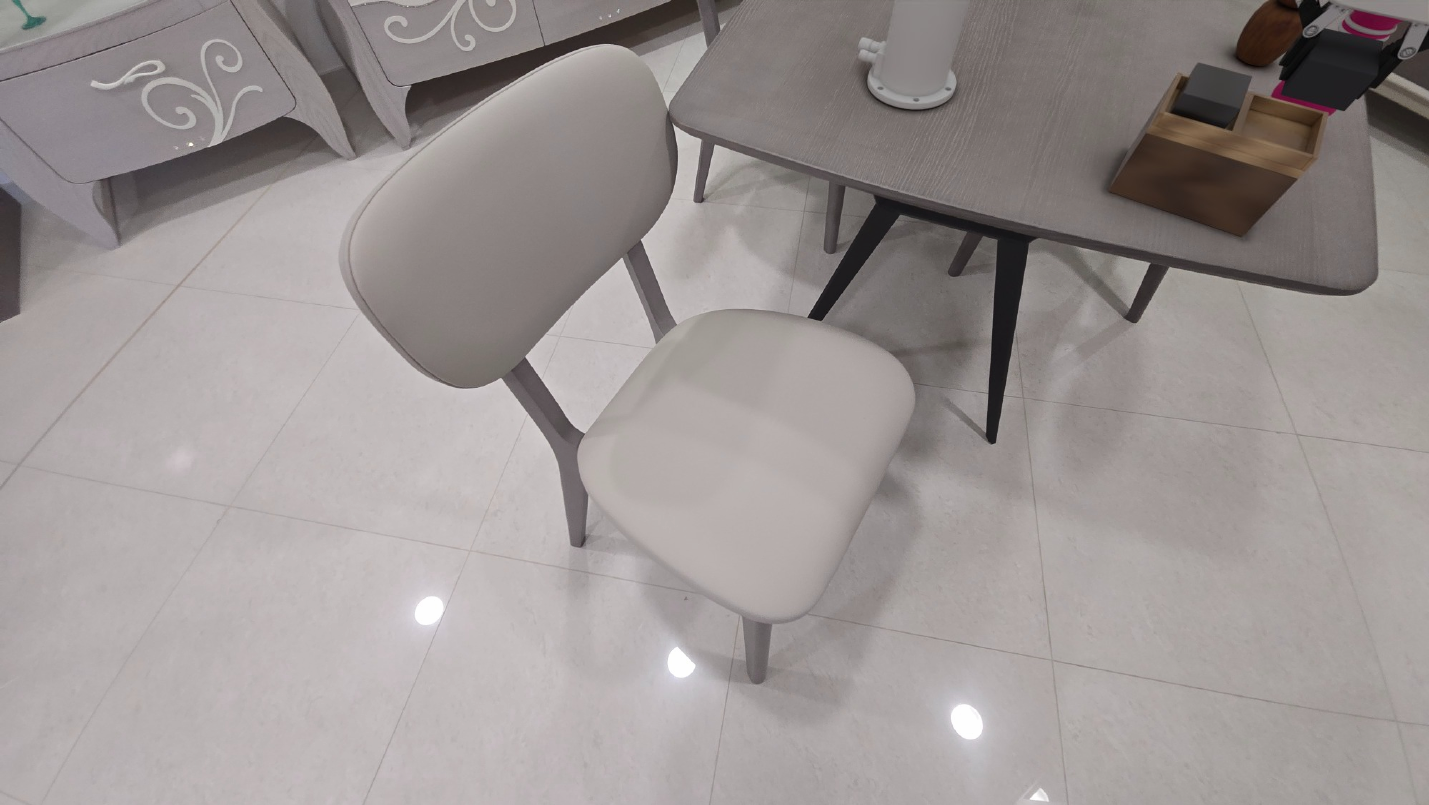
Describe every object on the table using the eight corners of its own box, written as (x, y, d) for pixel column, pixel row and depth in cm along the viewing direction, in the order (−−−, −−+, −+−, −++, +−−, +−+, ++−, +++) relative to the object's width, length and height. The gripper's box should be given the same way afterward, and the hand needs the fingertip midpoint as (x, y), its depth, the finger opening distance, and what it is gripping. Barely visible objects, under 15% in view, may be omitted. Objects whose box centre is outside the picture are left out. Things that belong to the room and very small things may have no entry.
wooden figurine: (1218, 52, 89) (1299, -67, 76) (1247, 43, 90) (1332, -76, 77) (1255, 75, 85) (1346, -46, 73) (1285, 66, 86) (1381, -55, 74)
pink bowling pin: (1257, 106, 82) (1395, -68, 65) (1316, 124, 79) (1476, -51, 62) (1242, 131, 79) (1382, -43, 62) (1303, 152, 76) (1466, -24, 59)
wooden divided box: (1107, 191, 74) (1170, 94, 63) (1127, 151, 77) (1189, 54, 67) (1242, 237, 69) (1335, 140, 58) (1256, 192, 73) (1345, 94, 62)
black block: (1280, 94, 59) (1308, 59, 56) (1290, 61, 62) (1318, 26, 59) (1344, 111, 57) (1377, 75, 54) (1352, 76, 60) (1383, 40, 57)
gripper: (1671, -155, 43) (1424, 89, 58) (1389, -189, 48) (1231, 43, 64) (1685, -119, 40) (1419, 129, 55) (1381, -160, 45) (1217, 76, 60)
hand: (1320, 81), depth 59 cm, fingers closed on black block, 5 cm apart
